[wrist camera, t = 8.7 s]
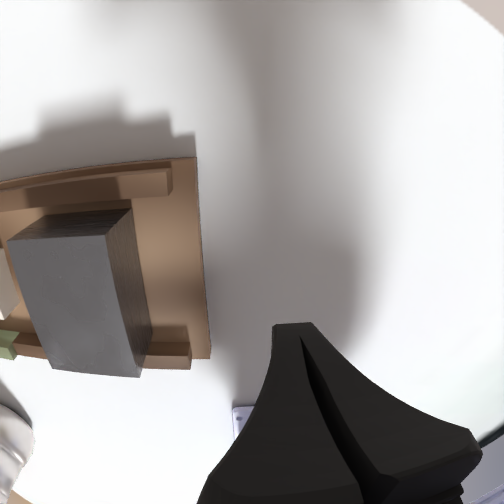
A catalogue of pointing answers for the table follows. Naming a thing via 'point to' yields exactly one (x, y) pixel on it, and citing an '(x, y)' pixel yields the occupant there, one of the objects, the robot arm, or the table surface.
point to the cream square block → (6, 288)
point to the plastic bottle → (13, 449)
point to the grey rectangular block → (85, 290)
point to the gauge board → (148, 244)
